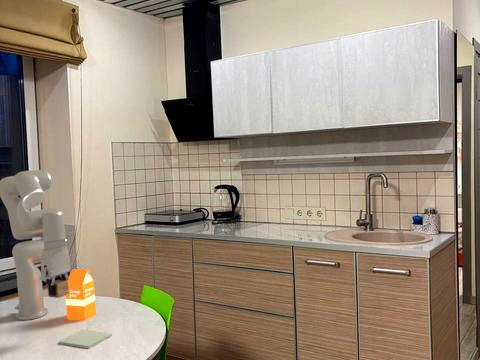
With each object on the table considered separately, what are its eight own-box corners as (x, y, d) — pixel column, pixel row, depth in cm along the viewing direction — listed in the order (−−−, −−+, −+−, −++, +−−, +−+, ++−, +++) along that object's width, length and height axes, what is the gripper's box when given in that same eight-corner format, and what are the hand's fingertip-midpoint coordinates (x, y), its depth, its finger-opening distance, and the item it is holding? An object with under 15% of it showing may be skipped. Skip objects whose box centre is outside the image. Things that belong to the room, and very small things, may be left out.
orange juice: (85, 320, 196) (81, 271, 195) (66, 319, 199) (63, 271, 198) (96, 314, 204) (93, 267, 203) (79, 313, 207) (75, 266, 205)
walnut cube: (48, 296, 179) (47, 283, 178) (59, 292, 183) (58, 279, 183) (58, 297, 176) (57, 284, 176) (68, 293, 181) (67, 280, 181)
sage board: (58, 343, 173) (58, 341, 173) (83, 331, 184) (82, 329, 184) (88, 348, 167) (88, 346, 167) (112, 335, 178) (112, 333, 178)
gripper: (64, 239, 188) (68, 286, 189) (28, 248, 173) (32, 299, 174) (79, 240, 185) (83, 287, 186) (43, 249, 169) (47, 300, 170)
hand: (58, 292), depth 180 cm, fingers closed on walnut cube, 5 cm apart
